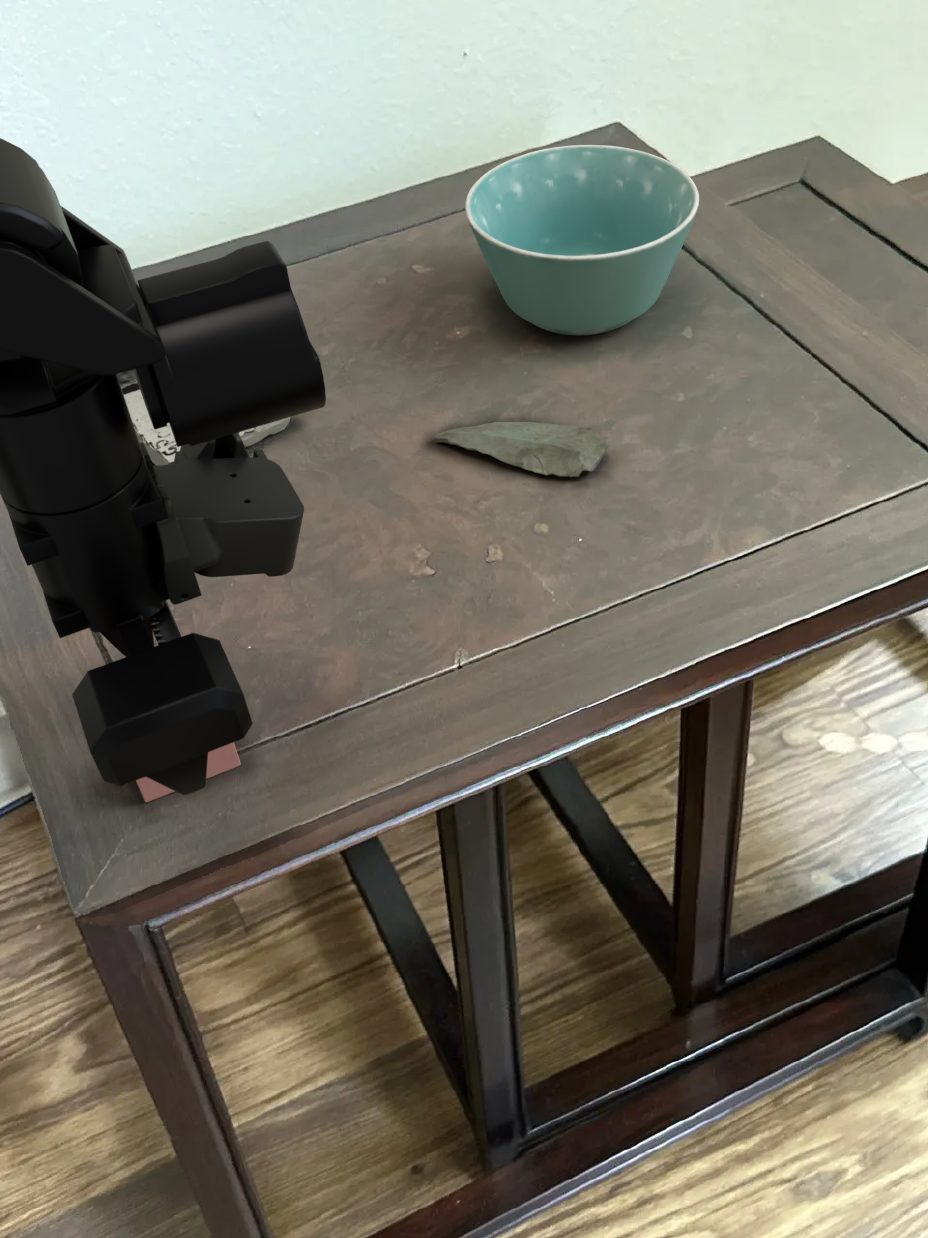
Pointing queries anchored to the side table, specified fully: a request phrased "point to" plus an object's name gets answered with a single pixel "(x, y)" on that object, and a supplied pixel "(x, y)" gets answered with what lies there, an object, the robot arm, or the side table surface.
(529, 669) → the side table surface
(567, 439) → the stone
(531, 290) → the bowl
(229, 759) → the eraser
